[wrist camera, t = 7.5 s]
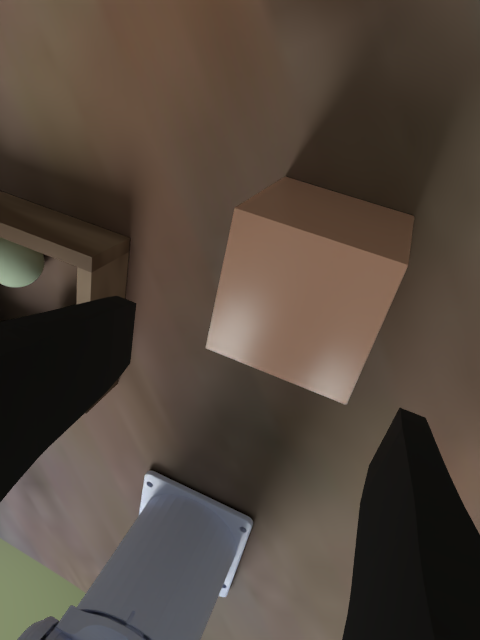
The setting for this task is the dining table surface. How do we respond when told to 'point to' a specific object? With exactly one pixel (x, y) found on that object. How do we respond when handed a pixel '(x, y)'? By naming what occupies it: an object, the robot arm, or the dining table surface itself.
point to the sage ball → (19, 264)
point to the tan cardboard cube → (308, 284)
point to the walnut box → (69, 247)
